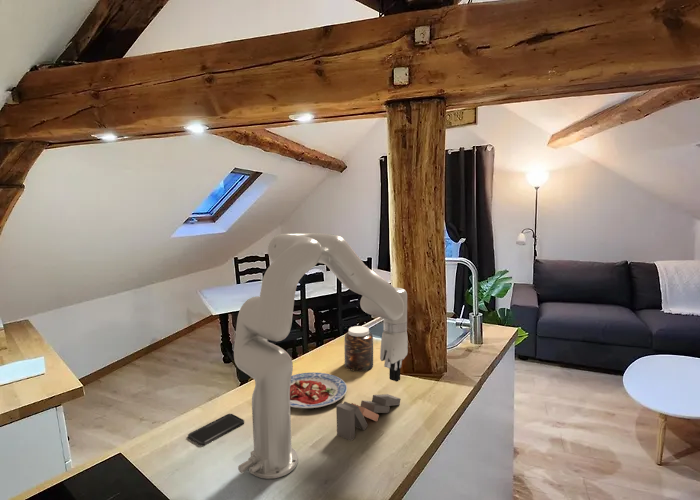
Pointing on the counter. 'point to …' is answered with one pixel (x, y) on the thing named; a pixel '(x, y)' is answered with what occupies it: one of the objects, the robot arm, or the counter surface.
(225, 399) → the counter surface
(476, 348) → the counter surface
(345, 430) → the domino
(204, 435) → the phone
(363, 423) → the domino
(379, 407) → the domino
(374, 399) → the domino
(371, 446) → the counter surface
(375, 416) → the terracotta domino
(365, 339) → the jar
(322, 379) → the ceramic plate
